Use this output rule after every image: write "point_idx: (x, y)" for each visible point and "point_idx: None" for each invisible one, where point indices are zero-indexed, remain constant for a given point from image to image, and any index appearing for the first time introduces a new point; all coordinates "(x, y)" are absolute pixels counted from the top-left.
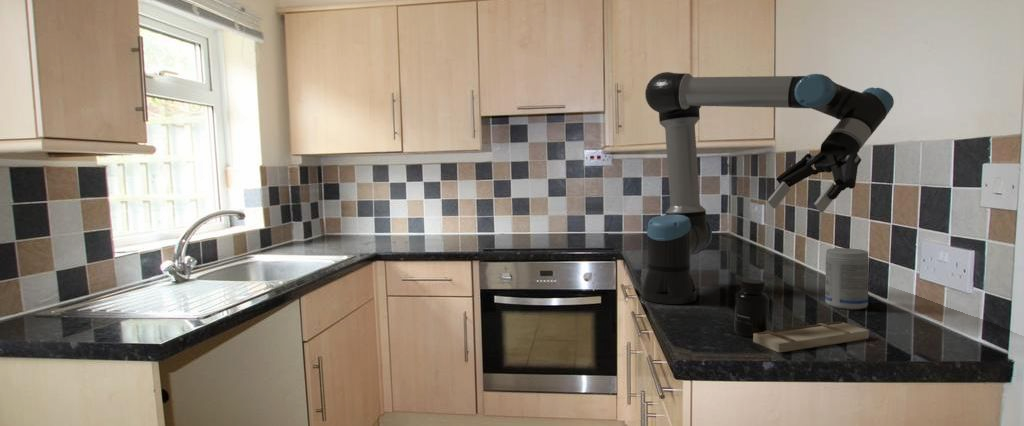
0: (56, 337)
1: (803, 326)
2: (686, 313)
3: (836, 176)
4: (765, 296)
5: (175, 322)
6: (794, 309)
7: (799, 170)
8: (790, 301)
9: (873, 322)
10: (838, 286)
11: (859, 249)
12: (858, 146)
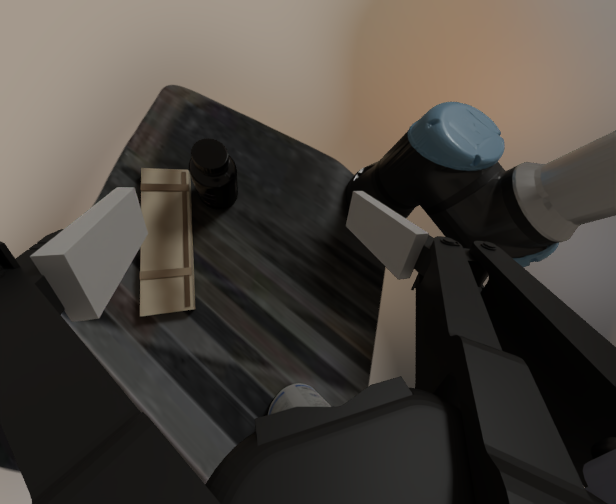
0: None
1: (186, 240)
2: (310, 179)
3: (7, 313)
4: (193, 172)
5: None
6: (295, 317)
7: (465, 302)
8: (332, 341)
9: (205, 385)
10: (291, 399)
11: None
12: None
